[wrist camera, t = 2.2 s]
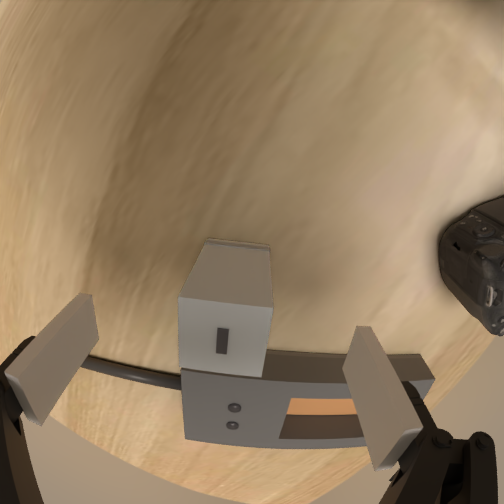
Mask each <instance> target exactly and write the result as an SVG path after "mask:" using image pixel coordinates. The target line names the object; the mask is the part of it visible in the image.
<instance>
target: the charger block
mask: <svg viewBox="0 0 504 504" xmlns="http://www.w3.org/2000/svg"><path fill="white" fill-rule="evenodd" d="M273 309H274V306H273V292H272V279H271V266H270V247H269V245H266V244H257V243H248V242H239V241H230V240H222V239H212V238H208V239H207V240H205V242H204V246H203V248H202V250H201V252H200V254H199V256H198V258H197V260H196V262H195V264H194V266H193V268H192V270H191V272H190V274H189V276H188V278H187V280H186V282H185V284H184V286H183V288H182V290H181V292H180V294H179V296H178V340H179V367H183V368H189V369H195V370H202V371H209V372H217V373H225V374H234V375H243V376H253V377H261V376H262V371H263V366H264V360H265V355H266V349H267V343H268V338H269V332H270V326H271V321H272V315H273Z"/></svg>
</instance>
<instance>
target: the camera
mask: <svg viewBox="0 0 504 504" xmlns="http://www.w3.org/2000/svg"><path fill="white" fill-rule="evenodd" d="M439 260H440V270H441V274H442V277H443V280H444V282H445V284H446V286H447V287H448V289H449V290H450V291H451V292H452V293H453V294H454V296H455V297H456V298H457V299H458V300H459V301H460V303H461V304H462V305H463V306H464V307H465V308H466V310H467V311H468V312H469V313H470V314H471V315H472V316H474V317H475V318H477V319H478V320H479V321H480V322H481V323H482V324H483V326H484V327H485V328H486V329H487V330H488V331H489V332H490V333H491V334H494V335H498V336H503V335H504V197H502V198H499V199H496V200H493V201H490V202H487V203H485V204H483V205H480V206H478V207H476V208H474V209H472V210H471V213H470V214H468V215H467V216H466V217H464V218H463V219H462V220H461V221H459V222H456V223H454V224H453V225H451V226H450V227H449V228H448V229H447V231H446V232H445V233H444V235H443V237H442V239H441V242H440V246H439Z"/></svg>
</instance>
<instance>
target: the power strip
mask: <svg viewBox="0 0 504 504" xmlns="http://www.w3.org/2000/svg"><path fill="white" fill-rule="evenodd" d="M346 357H347V354H322V353H304V352H289V351H276V350H266V355H265V360H264V366H263V371H262V376H261V377H253V376H243V375H234V374H225V373H217V372H209V371H202V370H195V369H189V368H183V367H182V368H181V377H179V376H173V375H167V374H162V373H157V372H152V371H147V370H142V369H137V368H133V367H128V366H124V365H120V364H115V363H111V362H107V361H103V360H100V359H96V358H92V357H88V356H87V357H86V359H85V360H84V362H83V363H82V365H81V366H80V367H82V368H86V369H89V370H93V371H96V372H100V373H104V374H107V375H111V376H115V377H119V378H123V379H127V380H132V381H136V382H141V383H145V384H150V385H155V386H160V387H165V388H170V389H176V390H182V404H183V419H184V432H185V439H188V440H194V441H200V442H207V443H215V444H223V445H232V446H243V447H256V448H274V449H331V448H349V447H361V446H367V444H366V441H365V437H364V434H363V431H362V428H361V425H360V421H359V418H358V415H357V412H356V409H355V406H354V403H353V400H352V396H351V393H350V390H349V387H348V384H347V381H346V378H345V375H344V372H343V369H342V368H343V365H344V362H345V359H346ZM387 357H388V359H389V361H390V362H391V364H392V366H393V368H394V370H395V372H396V374H397V376H398V378H399V379H400V381H409V382H410V383H411V384H412V385H413V386H414V387H415V388H416V389H417V391H418V392H419V394H420V396H421V398H422V400H423V399H424V398H425V396H426V394H427V393H428V391H429V389H430V388H431V386H432V384H433V382H434V381H435V378H434V376H433V374H432V373H431V371H430V369H429V368H428V366H427V364H426V363H425V361H424V360H423V358H422V356H421V355H420V354H411V355H387Z"/></svg>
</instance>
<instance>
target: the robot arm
mask: <svg viewBox="0 0 504 504" xmlns="http://www.w3.org/2000/svg"><path fill="white" fill-rule="evenodd" d="M98 340H99V336H98V330H97V324H96V318H95V312H94V305H93V298H92V295H89V294H84V293H79V294H78V295H77V296H76V297H75V298H74V299H73V300H72V301H71V302H70V303H69V304H68V305H67V306H66V307H65V308H64V309H63V310H62V311H61V312H60V313H59V314H58V315H57V316H56V317H55V318H54V319H53V320H52V321H51V322H50V323H49V324H48V325H47V326H46V327H45V328H44V329H43V330H42V331H41V332H40V333H39V334H38V335H37V336H36V337H35V336H31V337H29V338H27V339H25V340H24V341H23V342H22V343H21V344H20V345H19V346H18V347H17V348H16V349H15V350H14V351H13V352H12V354H10V355H9V356H8V357H7V359H6V360H5V361H4V362H3V363H2V364H1V365H0V504H44V502H43V500H42V497H41V494H40V491H39V488H38V485H37V481H36V478H35V475H34V471H33V468H32V464H31V461H30V456H29V452H28V448H27V444H26V439H25V434H24V429H23V424H22V420H21V418H20V415H21V413H22V411H23V412H24V414H25V415H26V417H27V419H28V420H29V421H31V422H33V423H36V424H38V425H40V426H42V425H43V423H44V421H45V420H46V418H47V416H48V415H49V413H50V412H51V410H52V409H53V407H54V405H55V404H56V402H57V401H58V399H59V398H60V396H61V395H62V393H63V391H64V390H65V388H66V387H67V385H68V384H69V382H70V381H71V379H72V378H73V376H74V375H75V373H76V372H77V370H78V369H79V367H80V366H81V365H82V363H83V362H84V360H85V359H86V357H87V356H88V354H89V353H90V352H91V350H92V349H93V347H94V346H95V345H96V343H97V342H98ZM342 369H343V372H344V375H345V378H346V381H347V384H348V387H349V390H350V393H351V396H352V400H353V403H354V406H355V409H356V412H357V415H358V418H359V421H360V425H361V428H362V431H363V434H364V437H365V441H366V444H367V447H368V451H369V454H370V457H371V461H372V464H373V467H374V471H379V470H386V469H391V468H392V467H393V466H394V465H395V463H396V462H397V461H398V462H399V465H400V469H399V470H398V471H397V472H396V473H395V474H394V475H393V476H392V478H391V479H390V480H389V481H392V482H391V484H390V485H389V487H388V489H387V491H386V492H385V494H384V496H383V498H382V499H381V501H380V502H379V504H498V485H497V484H498V483H497V466H496V455H495V445H494V441H493V439H492V438H491V437H490V436H489V435H488V434H486V433H484V432H475V433H473V434H472V436H471V437H470V438H469V439H468V440H463V439H453V437H452V436H451V434H450V433H449V432H447V431H445V430H443V429H438V428H437V427H436V424H435V423H434V421H433V419H432V417H431V415H430V413H429V411H428V409H427V407H426V405H424V402H423V400H422V398H421V396H420V394H419V392H418V391H417V389H416V388H415V387H414V386H413V385H412V384H411V383H410V382H409V381H400V379H399V378H398V376H397V374H396V372H395V370H394V368H393V366H392V364H391V362H390V361H389V359H388V357H387V355H386V353H385V351H384V350H383V348H382V346H381V344H380V342H379V341H378V339H377V337H376V335H375V333H374V332H373V330H372V328H371V326H357V327H356V330H355V333H354V336H353V339H352V342H351V345H350V348H349V351H348V354H347V357H346V359H345V362H344V365H343V368H342Z"/></svg>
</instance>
